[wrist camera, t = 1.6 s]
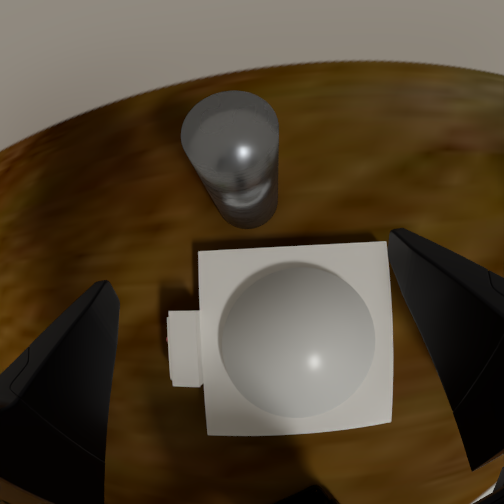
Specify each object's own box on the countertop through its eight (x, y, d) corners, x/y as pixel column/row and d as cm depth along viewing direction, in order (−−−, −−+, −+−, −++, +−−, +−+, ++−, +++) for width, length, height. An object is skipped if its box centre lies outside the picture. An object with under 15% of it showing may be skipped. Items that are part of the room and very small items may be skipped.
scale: (385, 416, 20) (396, 427, 17) (182, 427, 21) (173, 439, 18) (380, 244, 22) (392, 237, 20) (173, 255, 23) (162, 250, 20)
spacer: (237, 240, 23) (210, 191, 13) (207, 192, 24) (165, 121, 14) (289, 207, 23) (298, 138, 13) (256, 162, 24) (244, 77, 14)
